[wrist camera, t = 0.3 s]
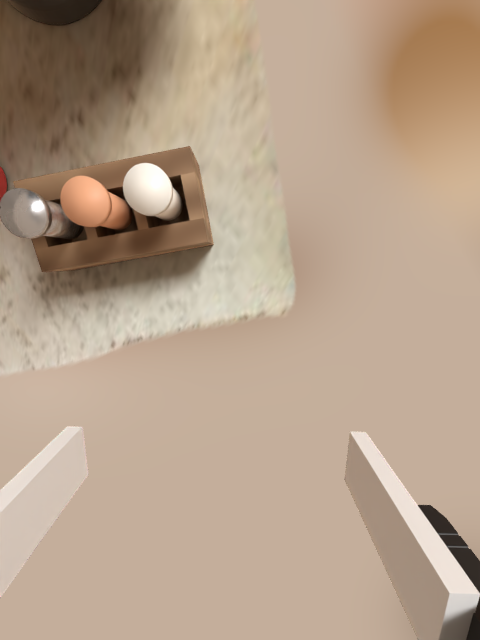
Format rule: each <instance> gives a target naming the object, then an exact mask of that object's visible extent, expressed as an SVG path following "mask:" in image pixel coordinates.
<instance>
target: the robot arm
mask: <svg viewBox="0 0 480 640" xmlns="http://www.w3.org/2000/svg"><path fill="white" fill-rule="evenodd" d="M7 1H8V2H9V3H10V4H11V5H12V6H13V7H14V8H15V9H17V10H18V11H19V12H21V13H22V14H24V15H25V16H27V17H29V18H31V19H33V20H36V21H38V22H42V23H46V24H54V25H59V24H67V23H71V22H74V21H76V20H79V19H81V18H82V17H84V16H86V15H87V14H88V13H90V12H91V11H92V10H93V9H94V8H95V7H96V6H97V5H98V3H99V2H100V1H101V0H7ZM87 476H88V466H87V458H86V451H85V442H84V434H83V427H74V426H73V427H72V426H71V427H69V426H67V427H66V428H65V429H64V430H63V431H62V432H61V433H60V434H59V435H58V436H57V437H56V438H54V439H53V440H52V441H51V442H50V443H49V444H48V445H47V446H46V447H45V448H44V449H43V450H42V451H41V452H40V453H39V454H38V455H37V456H36V457H35V458H33V459H32V460H31V461H30V462H29V463H28V464H27V465H26V466H25V467H24V468H23V469H22V470H21V471H20V472H19V473H18V474H17V475H16V476H15V477H14V478H13V479H12V480H10V481H9V482H8V483H7V484H6V485H5V486H4V487H3V488H2V489H1V490H0V598H1V596H2V595H3V593H4V592H5V591H6V589H7V587H8V586H9V585H10V584H11V582H12V581H13V579H14V578H15V577H16V575H17V574H18V572H19V571H20V569H21V568H22V567H23V565H24V564H25V563H26V561H27V560H28V558H29V557H30V556H31V554H32V553H33V551H34V550H35V549H36V547H37V546H38V544H39V543H40V542H41V540H42V539H43V537H44V536H45V535H46V533H47V532H48V530H49V529H50V528H51V526H52V525H53V523H54V522H55V521H56V519H57V518H58V516H59V515H60V514H61V512H62V511H63V509H64V508H65V507H66V505H67V504H68V502H69V501H70V500H71V498H72V497H73V495H74V494H75V493H76V491H77V490H78V489H79V487H80V486H81V484H82V483H83V482H84V480H85V479H86V477H87ZM345 482H346V484H347V486H348V488H349V490H350V492H351V495H352V497H353V499H354V501H355V504H356V506H357V508H358V510H359V512H360V514H361V517H362V519H363V521H364V523H365V525H366V528H367V530H368V532H369V534H370V536H371V538H372V541H373V543H374V545H375V547H376V549H377V552H378V554H379V556H380V558H381V560H382V562H383V565H384V566H385V569H386V571H387V573H388V575H389V578H390V580H391V582H392V584H393V586H394V589H395V591H396V593H397V595H398V597H399V599H400V602H401V604H402V606H403V608H404V610H405V613H406V615H407V617H408V619H409V621H410V623H411V626H412V628H413V630H414V632H415V634H416V636H417V639H418V640H480V561H479V560H478V558H477V557H476V556H475V554H474V553H473V552H472V550H471V549H469V548H468V545H467V544H466V543H465V542H464V540H463V539H462V538H461V536H459V535H458V533H457V531H456V530H455V529H454V527H453V526H452V525H451V524H450V522H449V521H448V520H447V519H446V518H445V517H444V516H443V515H442V514H441V513H439V512H438V511H437V510H436V509H435V508H433V507H432V506H431V505H417V504H416V503H415V501H414V500H413V498H412V497H411V495H410V494H409V493H408V491H407V490H406V488H405V487H404V485H403V484H402V483H401V481H400V480H399V478H398V477H397V476H396V474H395V473H394V471H393V470H392V469H391V467H390V466H389V464H388V463H387V461H386V460H385V459H384V457H383V456H382V454H381V453H380V452H379V450H378V449H377V447H376V446H375V444H374V443H373V442H372V440H371V439H370V437H369V436H368V435H367V433H366V432H350V437H349V445H348V455H347V462H346V471H345Z"/></svg>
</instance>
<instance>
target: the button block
mask: <svg viewBox="0 0 480 640" xmlns="http://www.w3.org/2000/svg"><path fill="white" fill-rule="evenodd" d="M140 163H150V164H154V165H156V166H158V167H159V168H160V169H162V170H163V171H164V172H165V174H166V175H167V176H168V177H169V179H170V181H171V183H172V187H173V188H174V189H175V190H176V191H177V192H178V194H179V195H180V197H181V199H182V203H183V207H182V211H181V213H180V215H179V216H178V217H177V218H176V219H174V220H170V221H166V220H162V219H160V218H158V217H156V216H146V215H143V214H141V213H139V212H137V211H135V210H134V209H133V208H132V207H131V206H130V207H131V209H132V214H133V216H132V221H131V223H130V225H129V226H128V227H126V228H125V229H122V230H115V229H111V228H107V227H103V226H97V227H85V226H83V230H82V232H81V234H80V235H79V236H78V237H76V238H74V239H65V238H57V237H49V236H41V237H39V238H31V239H32V242H33V245H34V248H35V251H36V255H37V258H38V261H39V264H40V267H41V270H42V272H50V271H69V270H77V269H83V268H88V267H94V266H99V265H105V264H110V263H116V262H121V261H127V260H132V259H138V258H143V257H149V256H154V255H160V254H165V253H171V252H176V251H182V250H187V249H193V248H198V247H204V246H209V245H214V244H213V238H212V233H211V228H210V222H209V217H208V212H207V206H206V201H205V196H204V190H203V185H202V180H201V174H200V169H199V165H198V163H197V160H196V158H195V156H194V154H193V152H192V150H191V147H190V146H188V147H183V148H178V149H173V150H168V151H163V152H158V153H153V154H148V155H143V156H138V157H133V158H128V159H123V160H118V161H113V162H108V163H103V164H98V165H93V166H88V167H83V168H78V169H73V170H68V171H63V172H58V173H53V174H48V175H43V176H38V177H33V178H28V179H23V180H18V181H13V182H14V186H15V188H23V189H27V190H30V191H33V192H35V193H37V194H39V195H40V196H42V197H43V198H44V199H45V200H47V201H51V202H54V203H57V204H60V205H61V200H60V196H61V191H62V188H63V186H64V184H65V183H66V182H67V181H68V180H69V179H71V178H73V177H75V176H88V177H90V178H93V179H94V180H96V181H98V182H100V183H101V184H102V185H103V186H104V187H105V188H106V189H107V191H108V192H110V193H112V194H114V195H116V196H118V197H120V198H122V199H124V200H125V201H126V199H125V196H124V192H123V182H124V178H125V176H126V174H127V172H128V171H129V170H130V169H131V168H132V167H133V166H135V165H137V164H140ZM126 202H127V201H126ZM127 203H128V202H127Z"/></svg>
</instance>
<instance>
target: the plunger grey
mask: <svg viewBox="0 0 480 640" xmlns="http://www.w3.org/2000/svg"><path fill="white" fill-rule="evenodd" d="M0 217H1V220H2V222H3V224H4V225H5V227H6V228H7V229H8V230H9V231H10V232H11V233H13V234H15V235H16V236H19V237H23V238H39V237H41V236H49V237H57V238H65V239H74V238H76V237H78V236H79V235H80V234H81V232H82V230H83V226H81V225H78V224H76V223H74V222H72V221H71V220H70V219H69V218H68V217H67V216H66V214H65V213H64V211H63V209H62V206H61V205H60V204H57V203H54V202H51V201H47V200H45V199H44V198H43V197H42V196H40V195H39V194H37V193H35V192H33V191H30V190H27V189H23V188H15V189H11V190H9V191H8V192H6V193H5V194H4V195H3V197H2V199H1V201H0Z"/></svg>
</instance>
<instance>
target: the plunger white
mask: <svg viewBox="0 0 480 640" xmlns="http://www.w3.org/2000/svg"><path fill="white" fill-rule="evenodd" d="M123 192H124V196H125V199H126V201H127V202H128V204H129V205H130V206H131V207H132V208H133V209H134V210H135V211H137V212H139V213H141V214H143V215H146V216H156V217H158V218H160V219H162V220H166V221H170V220H174V219H176V218H177V217H178V216H179V215H180V213H181V211H182V207H183V203H182V199H181V197H180V195H179V194H178V192H177V191H176V190H175V189H174V188H173V187H172V183H171V181H170V179H169V177H168V176H167V175H166V174H165V172H164V171H163V170H162V169H160V168H159V167H158V166H156V165H154V164H150V163H140V164H137V165H135V166H133V167H132V168H131V169H130V170H129V171H128V172H127V174H126V176H125V178H124V182H123Z"/></svg>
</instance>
